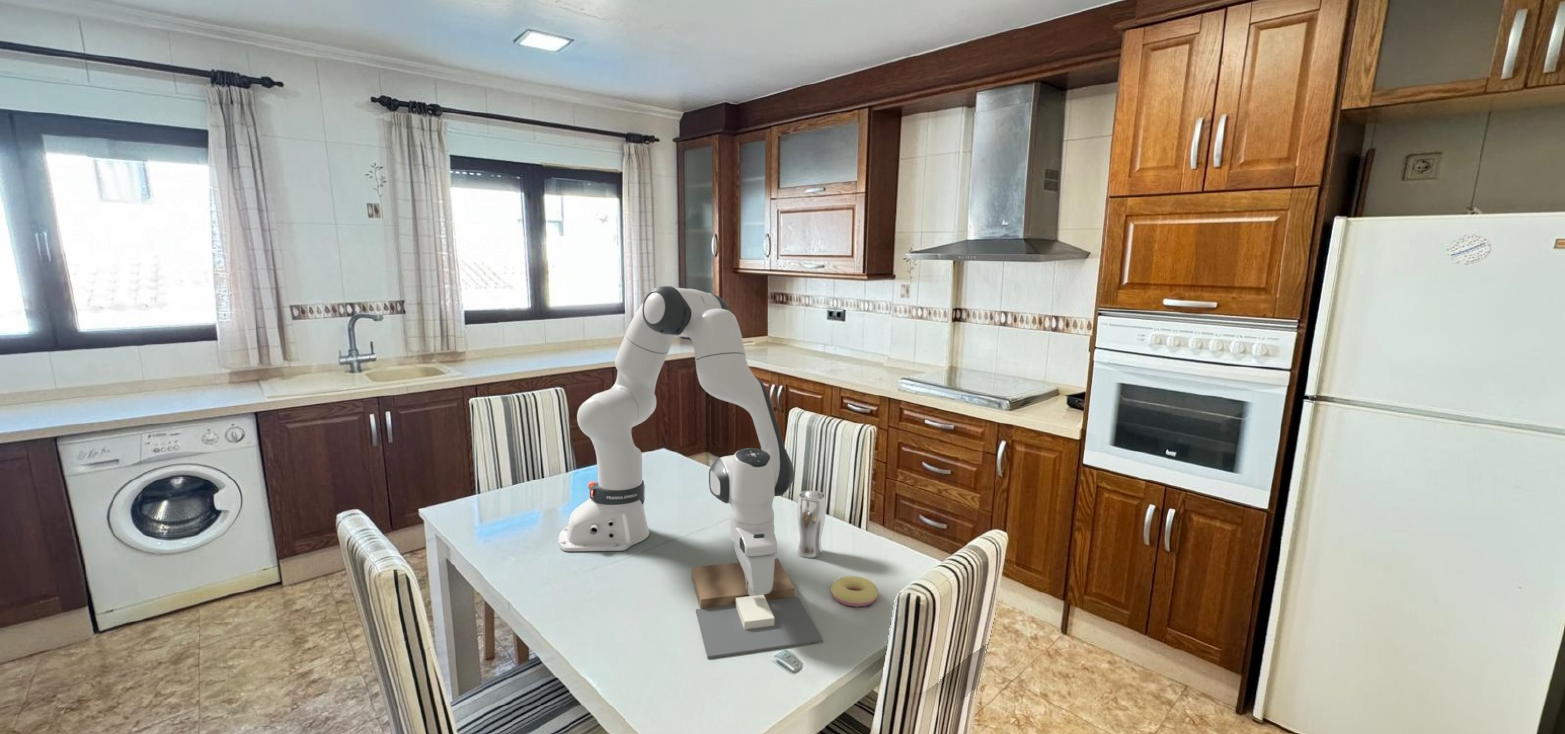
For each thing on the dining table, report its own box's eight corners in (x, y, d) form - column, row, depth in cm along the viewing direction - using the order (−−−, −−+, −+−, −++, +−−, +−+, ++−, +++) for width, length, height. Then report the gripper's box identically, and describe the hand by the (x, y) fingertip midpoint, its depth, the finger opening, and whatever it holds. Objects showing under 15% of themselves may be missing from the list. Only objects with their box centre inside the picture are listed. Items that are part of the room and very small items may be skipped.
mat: (707, 658, 114) (707, 656, 114) (695, 611, 129) (695, 608, 129) (822, 642, 120) (822, 639, 120) (798, 598, 135) (798, 596, 135)
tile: (744, 629, 123) (744, 621, 122) (735, 604, 131) (735, 597, 131) (774, 625, 124) (774, 617, 124) (763, 601, 133) (763, 594, 133)
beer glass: (791, 554, 155) (792, 496, 153) (803, 544, 161) (805, 488, 159) (816, 561, 152) (819, 502, 149) (828, 550, 158) (830, 493, 156)
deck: (700, 610, 130) (700, 599, 129) (692, 577, 143) (692, 567, 143) (794, 599, 135) (794, 588, 135) (777, 568, 148) (777, 558, 148)
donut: (834, 594, 142) (830, 611, 133) (832, 574, 142) (828, 589, 133) (879, 592, 140) (878, 609, 131) (877, 572, 140) (875, 587, 131)
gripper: (727, 510, 137) (727, 570, 140) (747, 552, 118) (746, 620, 120) (755, 508, 139) (755, 567, 141) (780, 549, 119) (778, 616, 122)
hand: (751, 592), depth 131 cm, fingers closed
